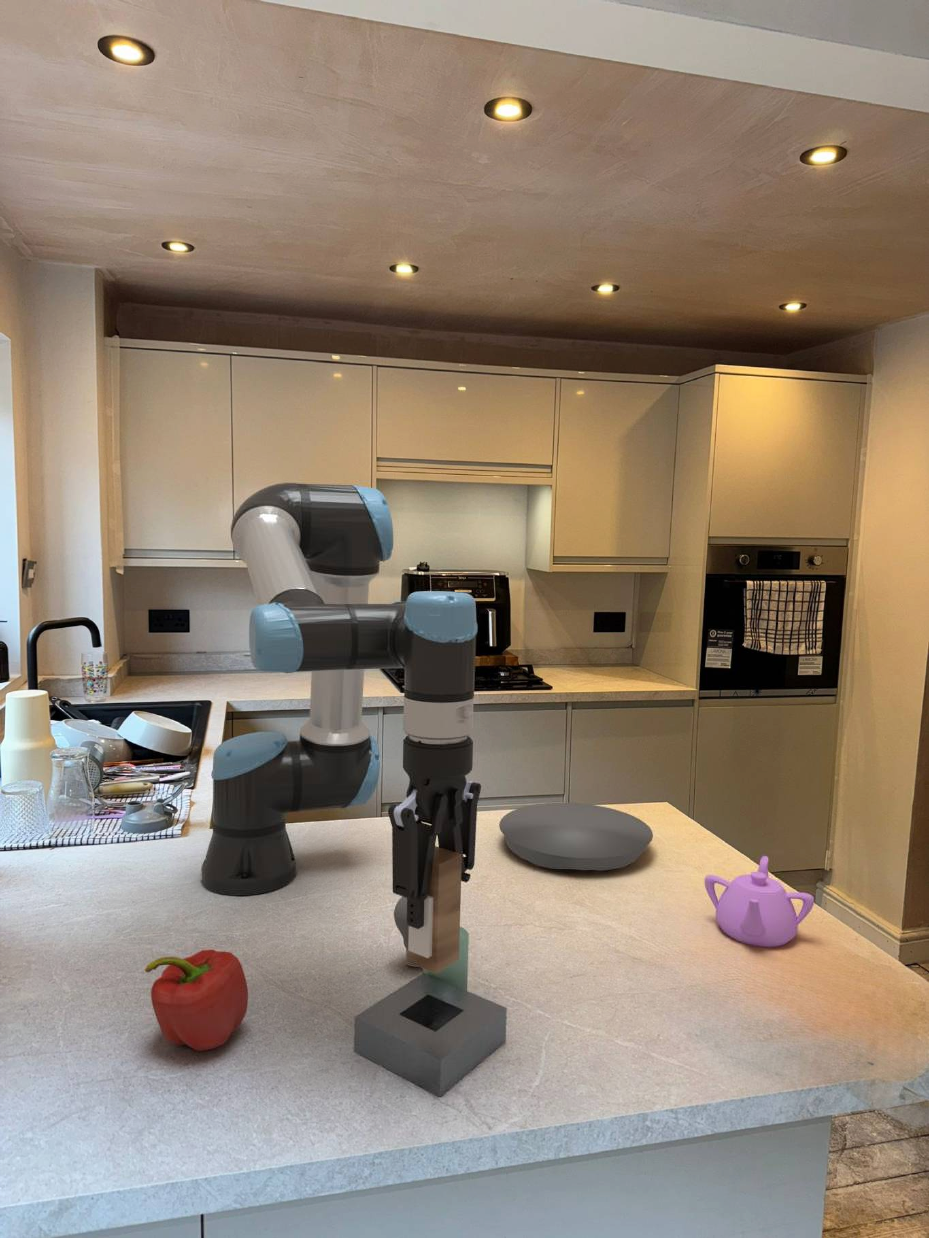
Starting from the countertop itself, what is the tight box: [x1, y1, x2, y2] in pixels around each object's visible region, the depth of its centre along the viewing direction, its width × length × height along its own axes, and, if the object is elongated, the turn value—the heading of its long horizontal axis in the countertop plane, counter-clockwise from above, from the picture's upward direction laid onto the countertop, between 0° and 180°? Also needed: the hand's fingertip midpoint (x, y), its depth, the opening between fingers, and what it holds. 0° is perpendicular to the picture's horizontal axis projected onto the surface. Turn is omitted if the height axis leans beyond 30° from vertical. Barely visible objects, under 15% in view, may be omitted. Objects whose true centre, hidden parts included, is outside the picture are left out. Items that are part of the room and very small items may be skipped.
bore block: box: [353, 972, 508, 1098], centre depth 92 cm, size 12×12×4 cm
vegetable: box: [144, 949, 249, 1052], centre depth 92 cm, size 11×10×10 cm
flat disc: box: [499, 802, 654, 872], centre depth 152 cm, size 28×28×4 cm
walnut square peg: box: [408, 845, 462, 974], centre depth 90 cm, size 4×4×12 cm
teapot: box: [704, 855, 815, 948], centre depth 121 cm, size 12×14×9 cm
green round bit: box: [422, 926, 470, 991], centre depth 102 cm, size 6×6×8 cm
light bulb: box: [393, 896, 419, 968], centre depth 109 cm, size 6×6×10 cm
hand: (433, 944), depth 91 cm, fingers closed on walnut square peg, 4 cm apart
